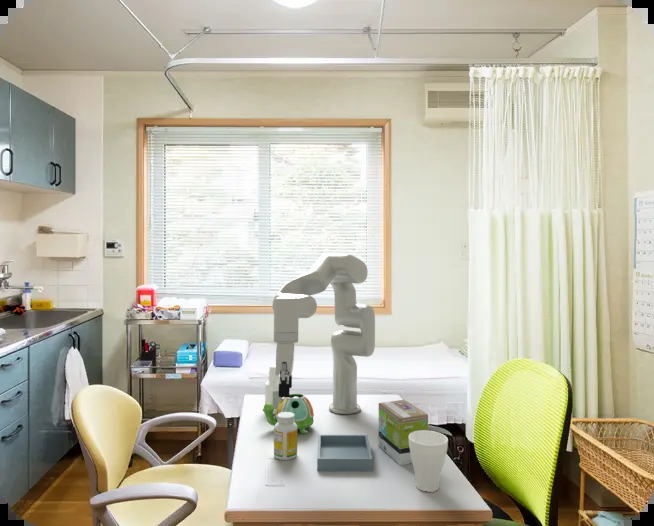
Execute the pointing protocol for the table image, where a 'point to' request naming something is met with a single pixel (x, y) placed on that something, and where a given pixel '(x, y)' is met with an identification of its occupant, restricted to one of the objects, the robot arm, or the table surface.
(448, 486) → the table surface
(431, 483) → the cup
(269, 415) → the turtle holder
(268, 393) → the spray bottle
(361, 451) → the tray
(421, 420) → the tea box
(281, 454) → the supplement bottle
